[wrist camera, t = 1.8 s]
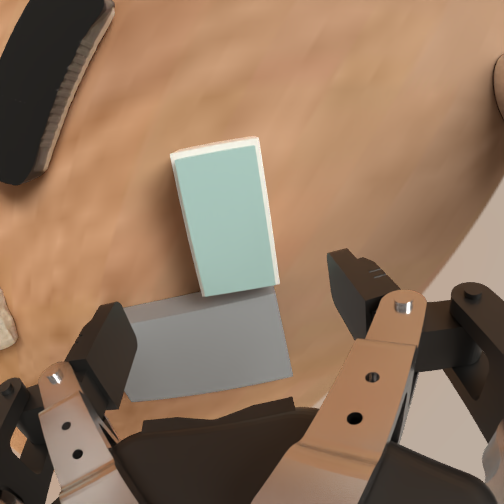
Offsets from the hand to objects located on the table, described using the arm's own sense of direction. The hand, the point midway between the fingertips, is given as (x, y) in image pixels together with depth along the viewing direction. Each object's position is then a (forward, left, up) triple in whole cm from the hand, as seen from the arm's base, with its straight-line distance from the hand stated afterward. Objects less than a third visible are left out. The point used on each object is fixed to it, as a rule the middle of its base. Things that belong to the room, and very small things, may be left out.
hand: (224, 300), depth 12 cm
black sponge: (+12, -15, -14) cm, 24 cm away
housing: (0, 0, -14) cm, 14 cm away
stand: (+6, +11, -14) cm, 19 cm away
